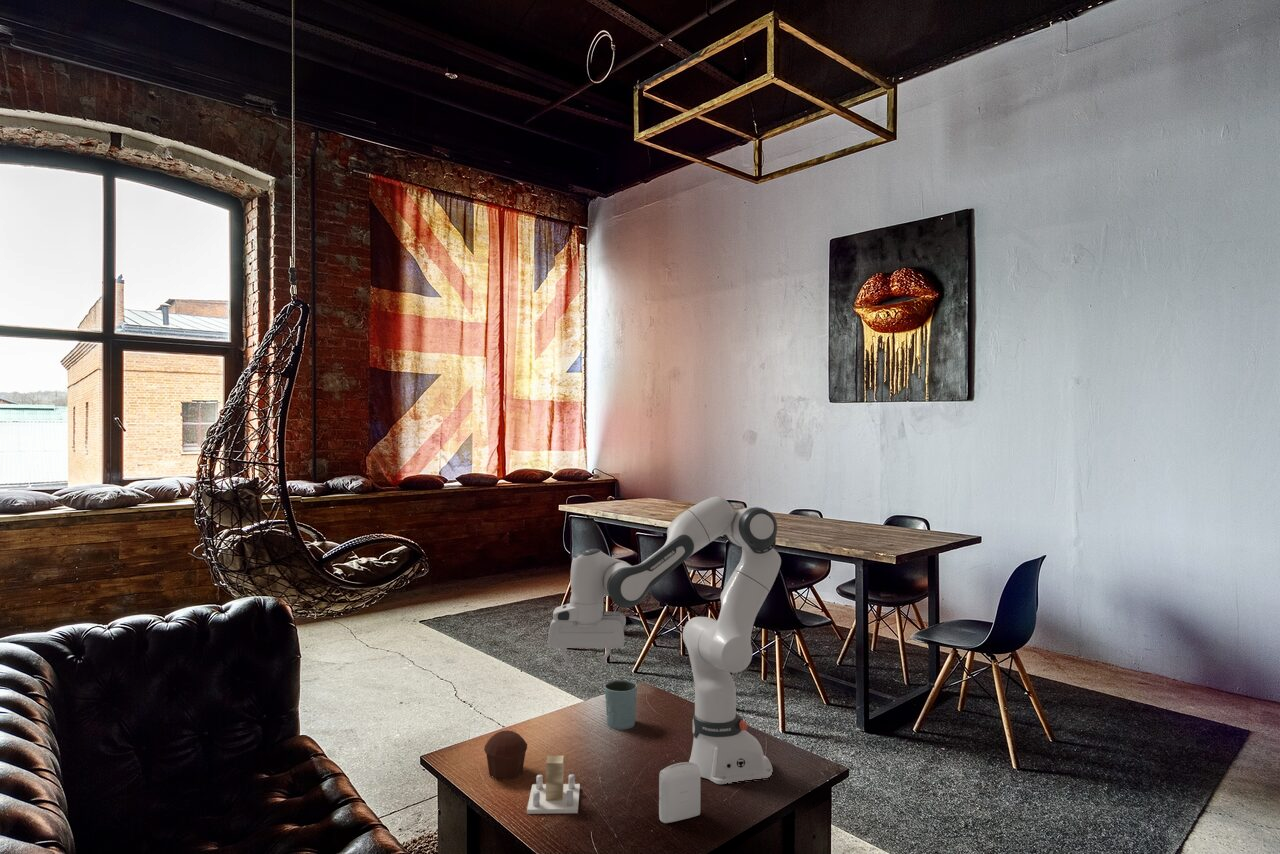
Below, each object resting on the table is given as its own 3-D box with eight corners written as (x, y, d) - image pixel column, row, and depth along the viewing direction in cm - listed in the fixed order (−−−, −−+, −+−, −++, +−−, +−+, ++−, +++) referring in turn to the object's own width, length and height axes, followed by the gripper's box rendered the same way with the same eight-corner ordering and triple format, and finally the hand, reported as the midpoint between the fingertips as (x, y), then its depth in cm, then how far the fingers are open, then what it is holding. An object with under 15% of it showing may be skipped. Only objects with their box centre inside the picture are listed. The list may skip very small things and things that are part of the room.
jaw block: (563, 792, 175) (563, 755, 175) (562, 800, 171) (562, 763, 171) (547, 792, 174) (547, 755, 175) (545, 800, 170) (546, 763, 171)
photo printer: (663, 826, 162) (664, 772, 162) (655, 816, 166) (656, 763, 166) (703, 816, 166) (703, 764, 166) (694, 807, 170) (695, 756, 170)
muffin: (533, 776, 185) (534, 737, 185) (493, 786, 179) (493, 747, 179) (516, 757, 195) (517, 721, 195) (478, 767, 189) (478, 729, 189)
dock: (579, 787, 179) (579, 771, 179) (577, 813, 167) (577, 796, 167) (532, 788, 178) (532, 772, 178) (526, 813, 166) (527, 796, 166)
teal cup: (639, 729, 215) (640, 689, 215) (607, 732, 212) (607, 692, 212) (632, 716, 224) (633, 678, 224) (601, 718, 222) (601, 680, 222)
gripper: (625, 608, 190) (624, 659, 190) (549, 608, 189) (548, 659, 189) (626, 614, 184) (625, 667, 183) (547, 614, 183) (546, 667, 183)
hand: (585, 663), depth 186 cm, fingers open, 8 cm apart
